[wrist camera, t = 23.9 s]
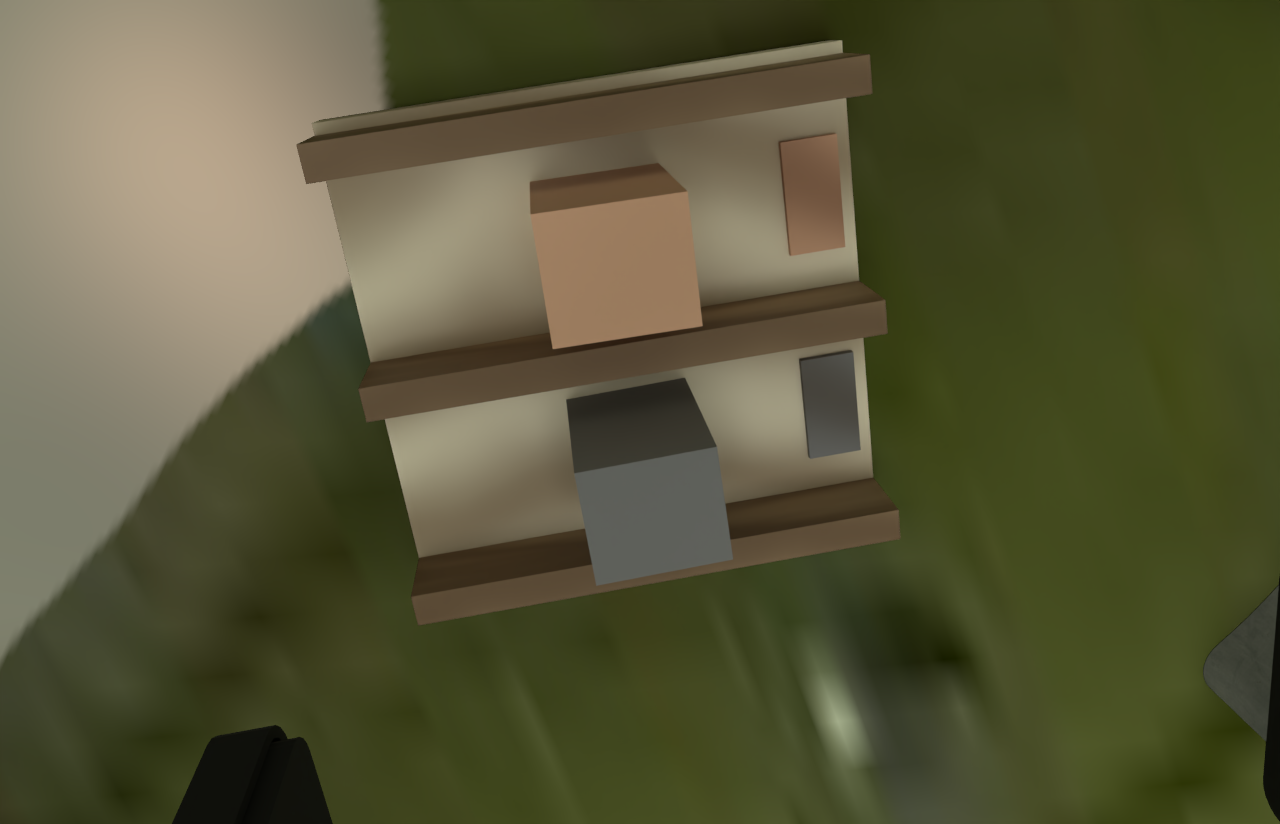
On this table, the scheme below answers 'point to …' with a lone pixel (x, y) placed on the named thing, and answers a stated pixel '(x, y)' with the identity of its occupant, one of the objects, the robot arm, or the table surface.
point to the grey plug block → (647, 481)
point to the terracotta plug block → (615, 255)
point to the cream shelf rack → (545, 377)
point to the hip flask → (1246, 666)
